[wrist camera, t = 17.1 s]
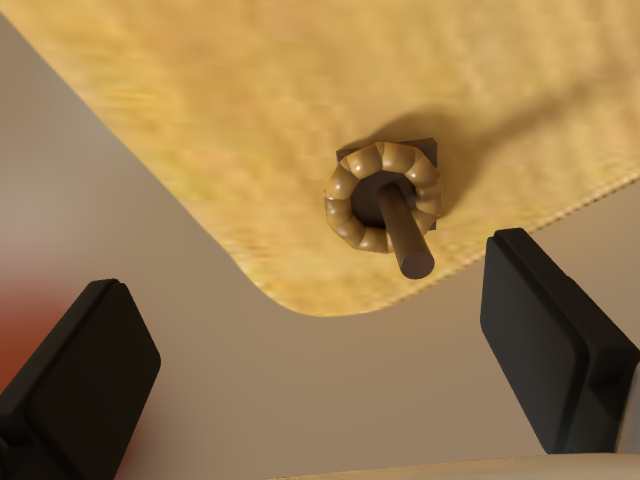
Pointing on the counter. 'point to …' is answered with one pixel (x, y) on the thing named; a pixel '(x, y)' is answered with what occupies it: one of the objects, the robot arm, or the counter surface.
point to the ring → (367, 164)
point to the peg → (395, 211)
